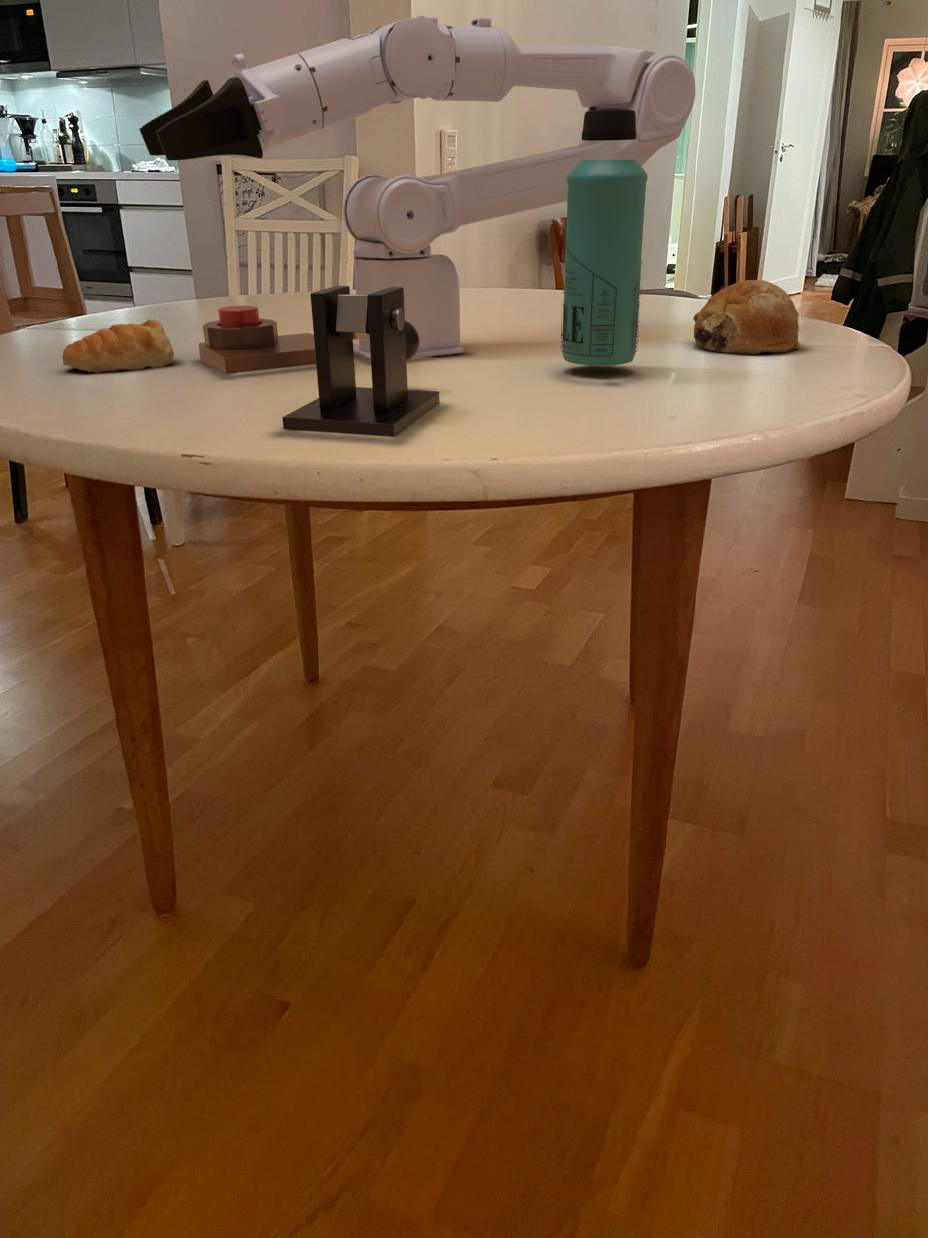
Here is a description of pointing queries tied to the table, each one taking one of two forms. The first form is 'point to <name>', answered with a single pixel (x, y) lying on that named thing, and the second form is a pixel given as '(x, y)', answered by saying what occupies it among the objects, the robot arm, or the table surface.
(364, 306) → the lever
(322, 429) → the bracket
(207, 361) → the button block
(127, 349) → the pastry
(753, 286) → the bread roll
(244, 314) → the button
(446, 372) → the table surface
